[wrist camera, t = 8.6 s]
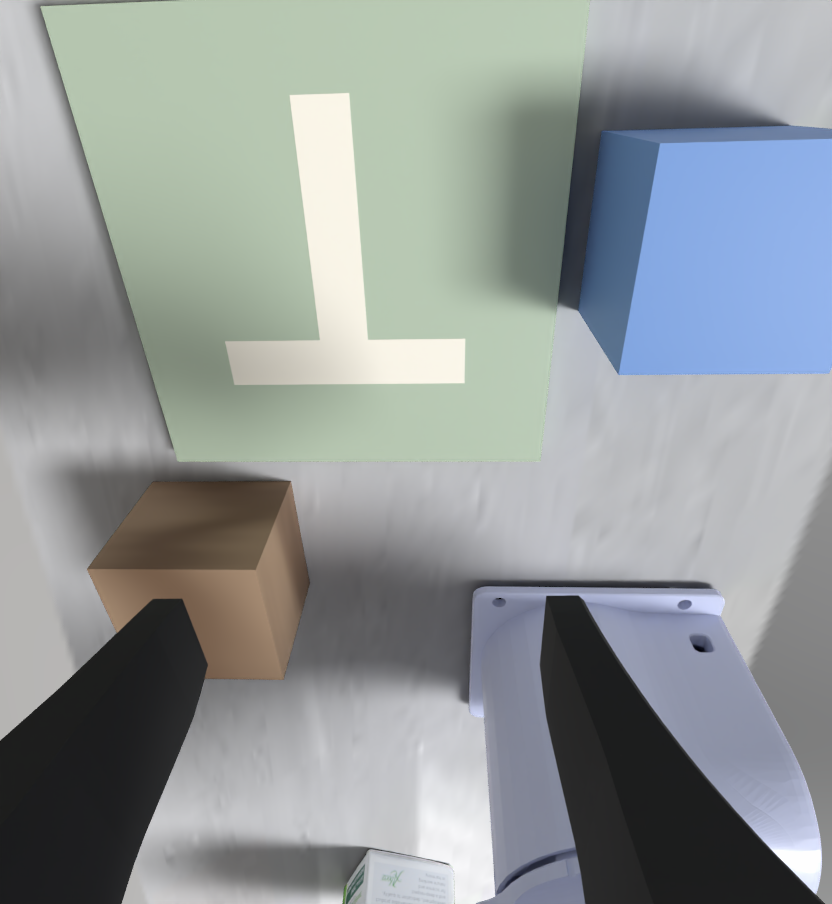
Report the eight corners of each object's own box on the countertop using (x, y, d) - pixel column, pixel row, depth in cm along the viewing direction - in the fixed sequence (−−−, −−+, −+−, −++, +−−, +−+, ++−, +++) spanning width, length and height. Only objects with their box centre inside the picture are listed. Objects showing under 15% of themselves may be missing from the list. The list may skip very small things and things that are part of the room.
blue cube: (789, 125, 14) (923, 136, 10) (737, 308, 16) (828, 373, 12) (600, 130, 14) (659, 143, 10) (577, 309, 16) (618, 374, 12)
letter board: (585, -13, 12) (592, -17, 12) (538, 451, 19) (540, 461, 18) (56, 9, 13) (40, 6, 12) (185, 452, 19) (177, 461, 19)
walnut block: (291, 479, 20) (255, 569, 16) (310, 581, 23) (283, 679, 19) (153, 480, 20) (86, 569, 16) (188, 581, 23) (137, 677, 19)
